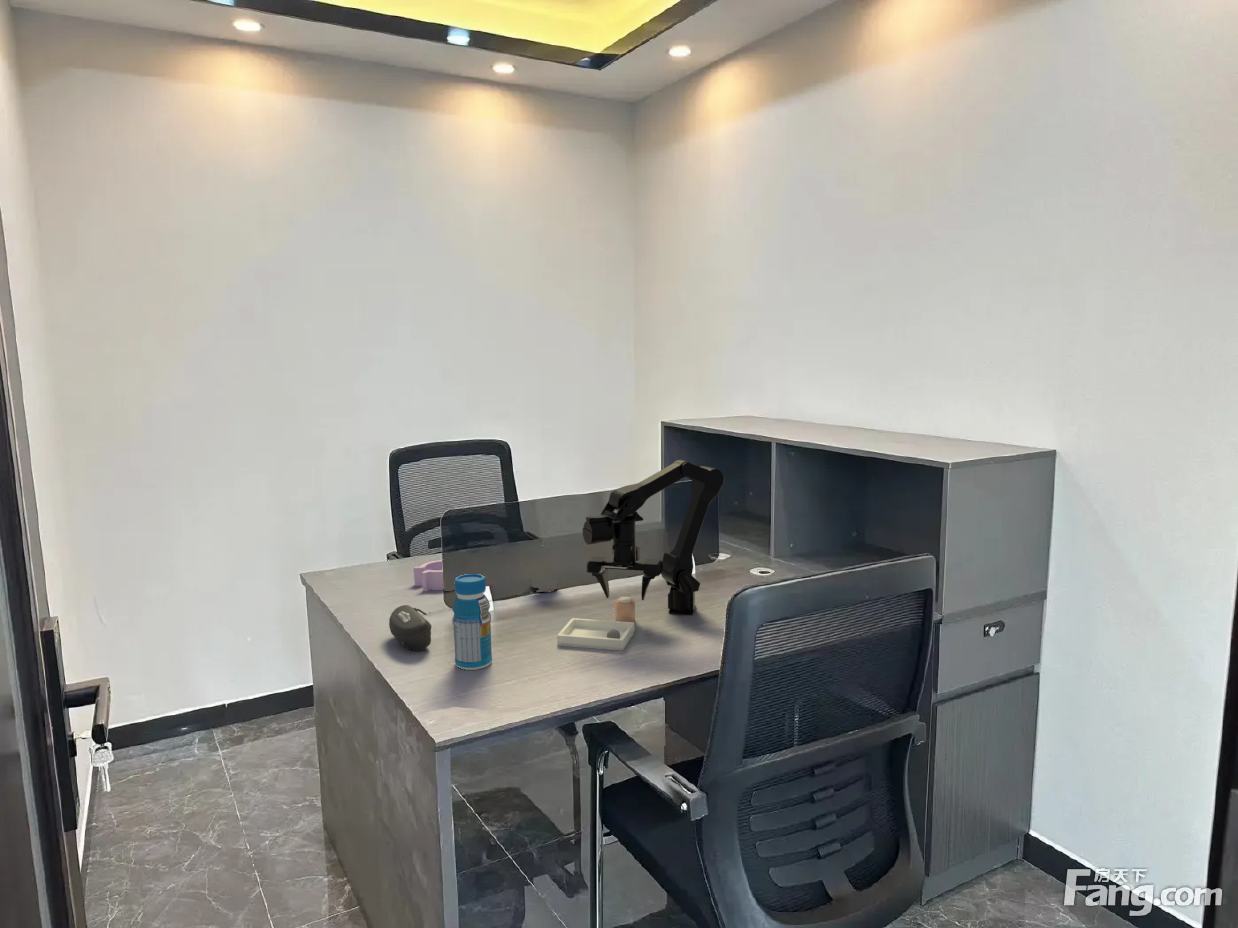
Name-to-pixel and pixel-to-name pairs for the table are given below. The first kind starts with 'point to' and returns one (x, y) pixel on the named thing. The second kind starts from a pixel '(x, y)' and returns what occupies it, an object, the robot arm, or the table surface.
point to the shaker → (625, 609)
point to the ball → (613, 634)
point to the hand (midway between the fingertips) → (625, 598)
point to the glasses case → (410, 627)
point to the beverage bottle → (471, 623)
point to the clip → (429, 576)
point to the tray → (595, 634)
